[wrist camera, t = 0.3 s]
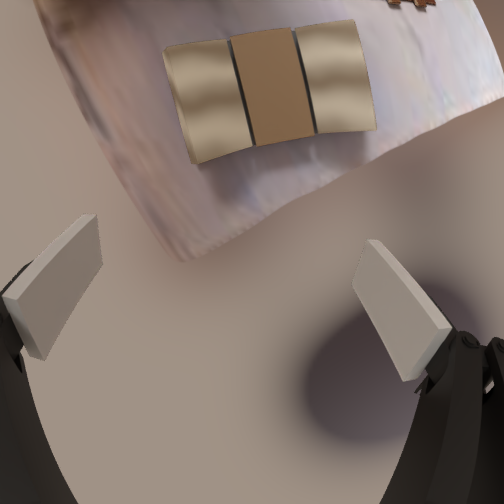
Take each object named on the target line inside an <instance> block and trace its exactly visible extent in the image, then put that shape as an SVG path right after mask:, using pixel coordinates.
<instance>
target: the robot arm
mask: <svg viewBox="0 0 504 504" xmlns="http://www.w3.org/2000/svg"><path fill="white" fill-rule="evenodd" d="M102 265H103V262H102V255H101V249H100V240H99V231H98V222H97V215H96V214H83V215H82V216H81V217H79V218H78V219H77V220H76V221H75V222H74V223H73V224H72V225H71V226H69V227H68V228H67V229H66V230H65V231H64V232H63V233H62V234H60V236H58V237H57V238H56V239H55V240H54V241H53V242H52V243H51V244H50V245H49V246H48V247H47V248H46V249H45V250H44V251H43V252H42V253H41V254H40V255H39V256H38V257H37V258H36V259H35V260H33V261H32V262H30V263H28V264H27V265H25V266H24V267H23V268H22V269H21V270H20V271H19V272H18V273H17V275H15V276H14V277H13V279H12V281H10V282H9V283H8V284H7V285H6V286H5V287H4V288H3V290H2V291H1V292H0V504H78V503H77V501H76V499H75V498H74V496H73V494H72V492H71V490H70V488H69V487H68V485H67V483H66V481H65V479H64V477H63V475H62V473H61V471H60V469H59V467H58V464H57V462H56V460H55V458H54V456H53V453H52V451H51V448H50V446H49V444H48V441H47V438H46V436H45V434H44V430H43V428H42V425H41V422H40V419H39V416H38V413H37V410H36V407H35V404H34V400H33V397H32V393H31V389H30V386H29V382H28V378H27V373H26V369H25V364H24V360H23V357H22V354H21V353H20V350H21V349H22V347H23V345H24V346H25V348H26V350H27V352H28V354H29V356H31V357H34V358H37V359H40V360H43V361H45V360H46V358H47V356H48V354H49V352H50V350H51V348H52V346H53V345H54V343H55V341H56V339H57V337H58V335H59V334H60V332H61V330H62V328H63V327H64V325H65V323H66V321H67V320H68V318H69V316H70V315H71V313H72V311H73V310H74V308H75V306H76V305H77V303H78V302H79V300H80V298H81V297H82V295H83V294H84V292H85V291H86V289H87V287H88V286H89V284H90V283H91V281H92V280H93V278H94V277H95V275H96V274H97V272H98V271H99V270H100V268H101V266H102ZM351 285H352V287H353V289H354V290H355V292H356V294H357V296H358V297H359V299H360V301H361V303H362V305H363V306H364V308H365V310H366V312H367V313H368V315H369V317H370V319H371V321H372V322H373V324H374V326H375V328H376V330H377V332H378V334H379V335H380V337H381V339H382V341H383V343H384V345H385V347H386V349H387V351H388V353H389V355H390V356H391V359H392V360H393V362H394V364H395V366H396V368H397V370H398V372H399V375H400V377H401V379H402V381H408V380H414V379H417V378H418V377H419V375H420V374H421V373H422V372H423V370H424V369H426V371H427V373H428V375H427V376H426V378H425V379H424V380H423V382H422V383H421V384H420V385H419V386H418V388H417V389H416V390H415V392H414V393H417V392H418V391H419V390H420V389H422V390H421V393H420V398H419V402H418V405H417V409H416V412H415V416H414V419H413V422H412V425H411V429H410V432H409V435H408V438H407V441H406V443H405V446H404V449H403V451H402V454H401V457H400V459H399V462H398V464H397V467H396V469H395V471H394V474H393V476H392V478H391V481H390V483H389V485H388V487H387V489H386V491H385V494H384V496H383V498H382V500H381V502H380V504H504V340H503V339H500V338H498V337H494V338H492V340H491V341H490V343H489V344H488V345H487V346H483V345H480V343H479V341H478V340H477V339H476V338H475V337H474V336H473V335H472V334H470V333H469V332H466V331H459V332H458V331H457V330H456V328H455V327H454V326H453V324H452V323H451V322H450V321H449V319H448V318H447V317H446V315H445V314H444V313H443V312H442V310H441V309H440V308H439V307H438V306H437V304H436V303H435V301H434V300H433V299H432V298H431V297H430V296H429V295H428V294H426V293H425V292H424V291H423V289H422V288H421V287H420V286H419V285H418V284H417V282H416V281H415V280H414V279H413V278H412V277H411V275H410V274H409V273H408V272H407V271H406V270H405V269H404V267H403V266H402V265H401V264H400V263H399V262H398V261H397V259H396V258H395V257H394V256H393V255H392V254H391V253H390V252H389V251H388V250H387V248H385V246H384V245H383V244H382V243H381V242H380V241H379V240H372V239H366V242H365V245H364V248H363V251H362V255H361V257H360V260H359V263H358V266H357V269H356V272H355V275H354V278H353V281H352V283H351ZM492 380H493V382H494V386H493V388H492V389H491V390H490V391H489V392H488V393H486V390H485V388H486V387H487V386H488V385H489V384H490V383H491V382H492Z"/></svg>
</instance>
